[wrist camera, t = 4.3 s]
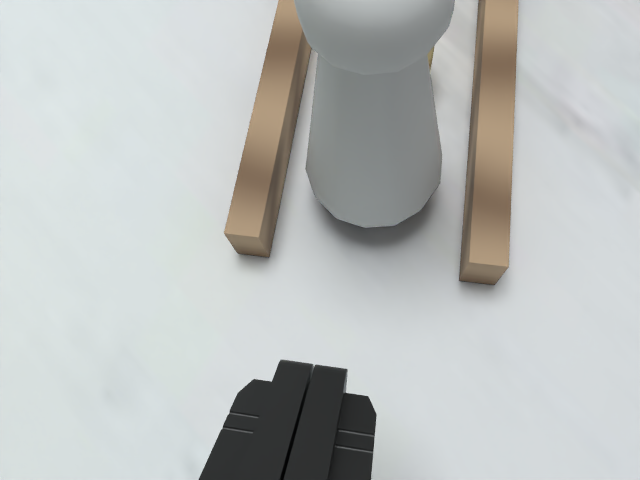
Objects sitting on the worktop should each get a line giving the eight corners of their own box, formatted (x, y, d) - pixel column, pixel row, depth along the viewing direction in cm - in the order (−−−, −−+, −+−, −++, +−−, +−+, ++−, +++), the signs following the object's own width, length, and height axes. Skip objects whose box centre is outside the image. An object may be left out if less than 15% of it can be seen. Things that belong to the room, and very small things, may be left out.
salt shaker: (461, 189, 25) (548, -54, 13) (372, 271, 24) (375, 90, 12) (373, 114, 27) (376, -160, 15) (287, 186, 26) (213, -44, 14)
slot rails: (494, 284, 23) (508, 266, 21) (237, 253, 25) (223, 233, 22) (508, -31, 29) (521, -72, 27) (302, -40, 31) (297, -79, 29)
